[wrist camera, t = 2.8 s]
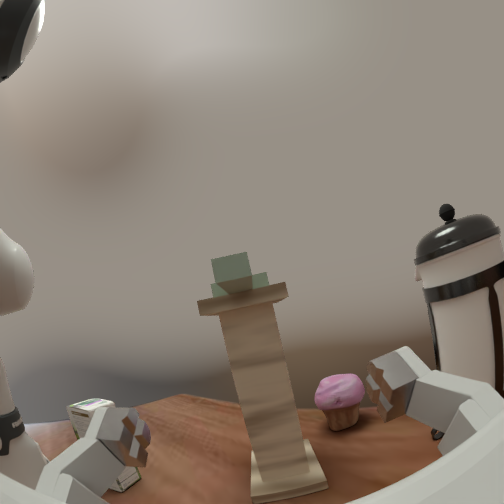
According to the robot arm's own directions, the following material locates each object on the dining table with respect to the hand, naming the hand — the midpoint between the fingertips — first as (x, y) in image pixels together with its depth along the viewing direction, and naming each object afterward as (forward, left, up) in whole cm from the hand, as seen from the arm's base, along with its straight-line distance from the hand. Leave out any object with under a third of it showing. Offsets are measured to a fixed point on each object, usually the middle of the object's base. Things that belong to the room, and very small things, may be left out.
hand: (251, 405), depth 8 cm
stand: (-16, +19, -20) cm, 32 cm away
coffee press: (+11, +29, -21) cm, 38 cm away
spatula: (-12, +15, +6) cm, 20 cm away
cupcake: (-14, +34, -21) cm, 42 cm away
